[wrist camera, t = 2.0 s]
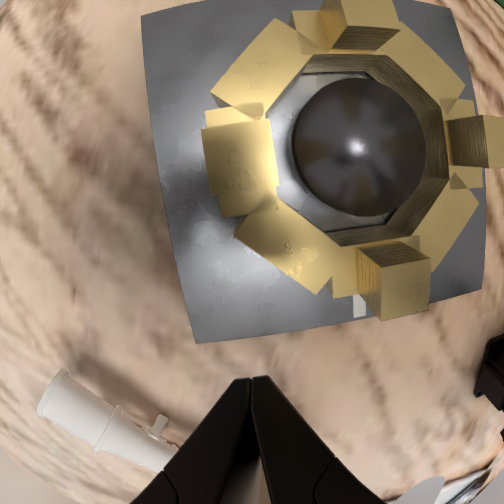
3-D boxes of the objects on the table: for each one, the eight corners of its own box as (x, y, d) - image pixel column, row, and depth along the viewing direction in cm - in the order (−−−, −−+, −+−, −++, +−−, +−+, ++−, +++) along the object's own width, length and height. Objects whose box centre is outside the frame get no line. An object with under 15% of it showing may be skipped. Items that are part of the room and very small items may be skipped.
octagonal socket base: (427, 41, 13) (484, 8, 8) (453, 252, 17) (514, 285, 11) (201, 46, 14) (179, -9, 8) (240, 288, 17) (236, 348, 11)
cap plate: (443, 13, 14) (473, -7, 10) (474, 284, 19) (506, 305, 15) (145, 22, 14) (123, -7, 10) (198, 335, 19) (187, 372, 16)
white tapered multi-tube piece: (218, 441, 24) (193, 487, 22) (79, 362, 22) (51, 411, 20) (254, 459, 18) (222, 520, 15) (64, 356, 16) (28, 423, 13)
